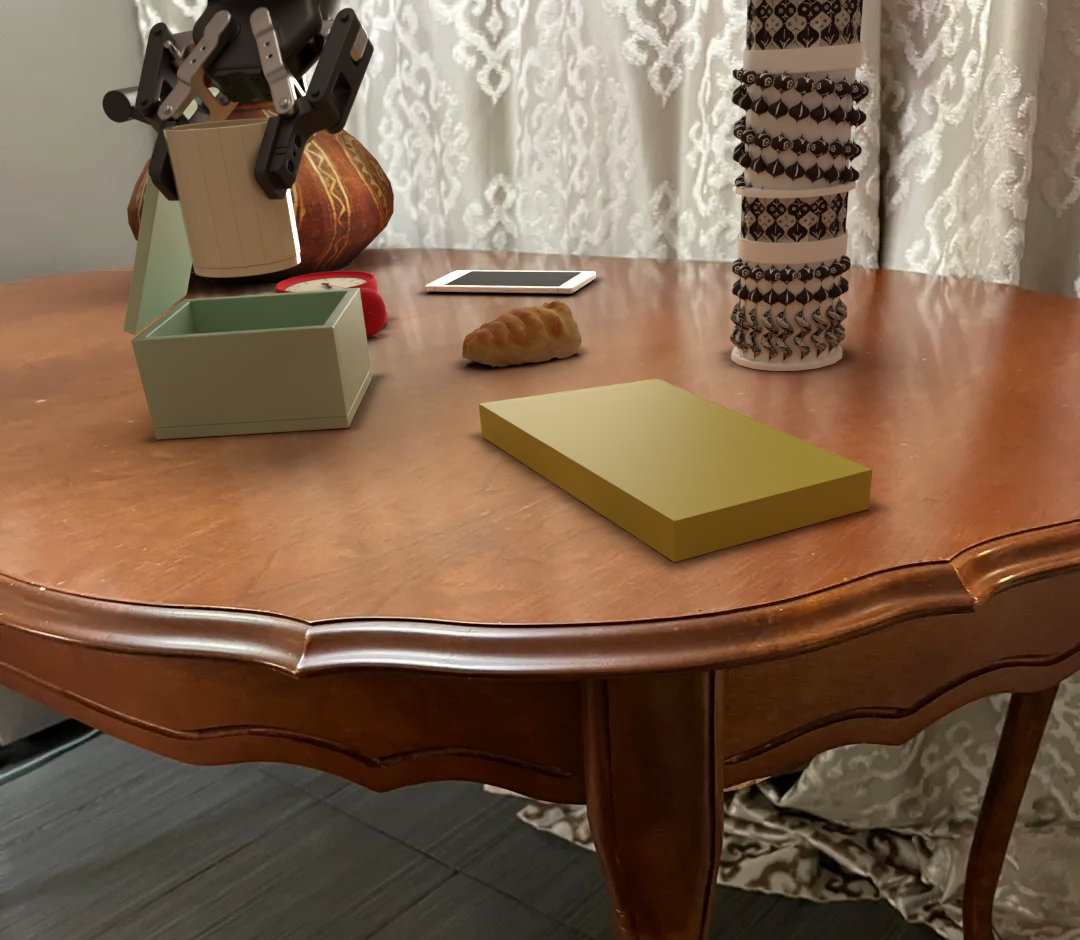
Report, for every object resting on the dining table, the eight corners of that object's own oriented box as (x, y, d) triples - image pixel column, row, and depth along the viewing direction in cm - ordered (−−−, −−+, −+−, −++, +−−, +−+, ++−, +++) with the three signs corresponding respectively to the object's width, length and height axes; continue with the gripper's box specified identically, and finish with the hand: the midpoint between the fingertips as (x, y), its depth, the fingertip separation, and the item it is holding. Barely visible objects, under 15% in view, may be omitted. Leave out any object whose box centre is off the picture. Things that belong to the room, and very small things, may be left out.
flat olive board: (868, 508, 60) (640, 402, 78) (872, 469, 58) (639, 370, 77) (674, 562, 55) (482, 436, 74) (674, 520, 54) (478, 403, 73)
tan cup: (182, 280, 63) (149, 132, 59) (210, 260, 69) (181, 123, 65) (289, 273, 63) (263, 124, 59) (310, 253, 68) (287, 115, 64)
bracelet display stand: (703, 352, 88) (708, -28, 75) (803, 334, 91) (826, -36, 77) (765, 379, 81) (782, -37, 67) (872, 359, 83) (910, -45, 70)
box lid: (224, 91, 77) (149, 61, 76) (173, 103, 67) (85, 68, 66) (186, 295, 85) (117, 270, 84) (135, 335, 74) (55, 307, 73)
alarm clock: (376, 267, 108) (386, 255, 94) (386, 335, 110) (397, 333, 96) (267, 279, 106) (261, 268, 92) (280, 348, 108) (275, 347, 94)
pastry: (486, 376, 86) (481, 325, 84) (448, 360, 91) (443, 311, 89) (589, 353, 90) (587, 304, 88) (547, 339, 95) (544, 292, 93)
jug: (315, 300, 115) (267, 13, 101) (83, 296, 125) (13, 35, 112) (439, 245, 138) (414, 6, 125) (235, 245, 148) (192, 24, 135)
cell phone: (456, 276, 120) (455, 269, 120) (597, 277, 115) (597, 271, 114) (424, 292, 114) (423, 285, 114) (571, 294, 109) (571, 287, 108)
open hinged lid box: (372, 377, 88) (359, 287, 84) (348, 428, 77) (333, 326, 74) (202, 388, 88) (182, 299, 85) (156, 439, 78) (130, 340, 74)
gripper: (148, -107, 64) (67, 147, 61) (370, -136, 59) (293, 139, 56) (221, 1, 71) (151, 234, 68) (424, -17, 66) (359, 233, 63)
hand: (216, 190), depth 62 cm, fingers closed on tan cup, 6 cm apart
